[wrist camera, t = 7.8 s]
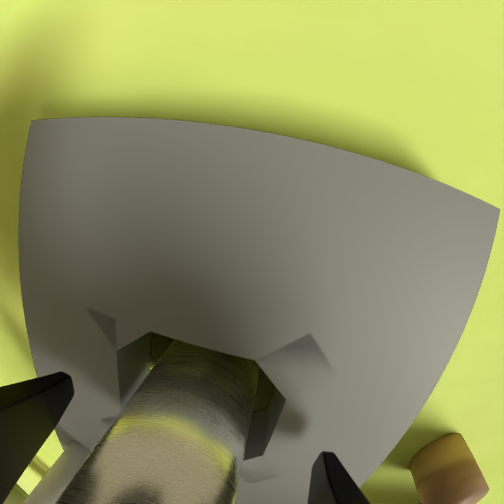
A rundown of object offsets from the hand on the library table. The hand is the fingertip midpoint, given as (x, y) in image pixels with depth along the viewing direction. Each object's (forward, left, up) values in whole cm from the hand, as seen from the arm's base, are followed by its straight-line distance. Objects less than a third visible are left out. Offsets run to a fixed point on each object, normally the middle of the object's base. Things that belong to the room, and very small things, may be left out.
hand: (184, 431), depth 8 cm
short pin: (-5, -15, -4) cm, 16 cm away
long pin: (0, 0, -4) cm, 4 cm away
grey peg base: (0, 0, -4) cm, 4 cm away
